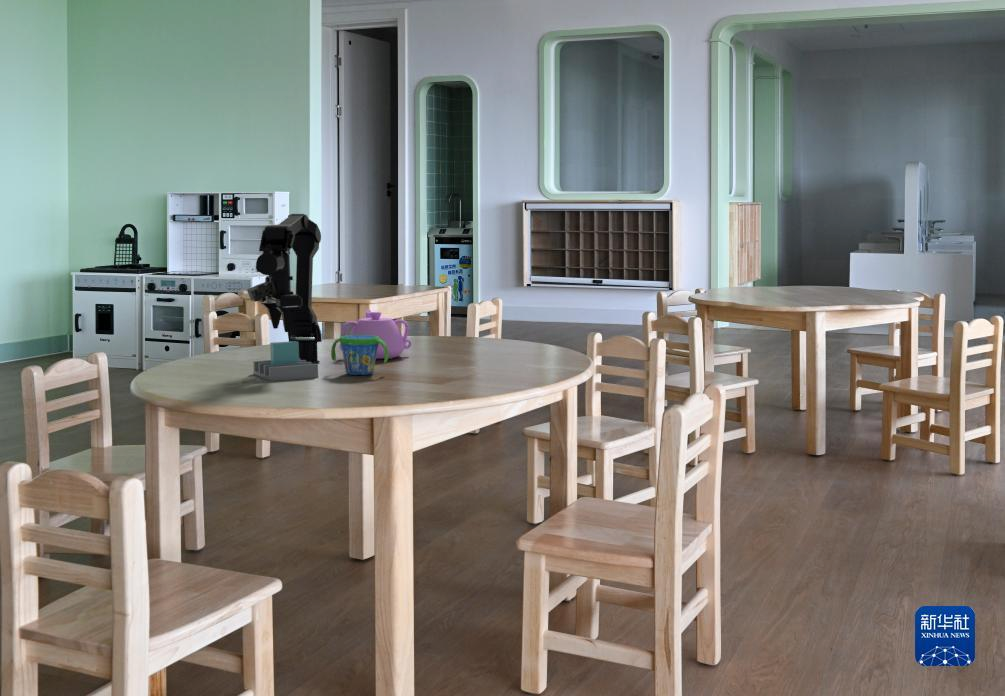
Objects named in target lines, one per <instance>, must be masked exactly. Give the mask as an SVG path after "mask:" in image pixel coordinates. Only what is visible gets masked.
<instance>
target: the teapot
mask: <svg viewBox="0 0 1005 696" xmlns="http://www.w3.org/2000/svg"><path fill="white" fill-rule="evenodd" d="M381 315H382V312H381V311H371V310H370V309H366V310H365V317H364V318H359V319H358V320H357V321H355V320H350V321H349V320H348V321H347V322H345V323H344V324H343V325H342V327H341V328H342V329H341V332H342V336H346V335H347V327H348V326H350V325H351V326H352V325H353V327H352V329H351V331H350V332H349V333H350V334H349V335H373V336H378V337H379V339H381V340H383V341H384V342H385V344H386V346H387V349H388V360H392V359H393V358H397V357H399V356H400V355H401V354H402V353H403V351H404V349H405V350H408V349H411V347H412V343H413V342H412V341H411V339H407V338H408V335H409V330H410V326H409V324H408V322H407V321H406V320H403V319H400V318H399V319H395V320H394V319H392V318H389V317H381ZM397 324H403V325H404V333H403V334H402V331H401V330H400V328H399V326H398V325H397ZM406 343H408V344H406ZM339 349H340V351H342V345H341V343H340V342H339ZM384 358H385V350H384V348H383V346H382V345H381V343H380V342H379V344H378V348H377V353H376V359H384ZM376 359H375V360H376Z"/></svg>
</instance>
